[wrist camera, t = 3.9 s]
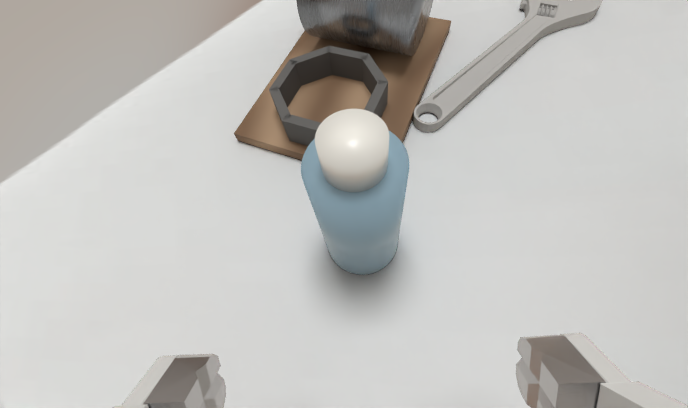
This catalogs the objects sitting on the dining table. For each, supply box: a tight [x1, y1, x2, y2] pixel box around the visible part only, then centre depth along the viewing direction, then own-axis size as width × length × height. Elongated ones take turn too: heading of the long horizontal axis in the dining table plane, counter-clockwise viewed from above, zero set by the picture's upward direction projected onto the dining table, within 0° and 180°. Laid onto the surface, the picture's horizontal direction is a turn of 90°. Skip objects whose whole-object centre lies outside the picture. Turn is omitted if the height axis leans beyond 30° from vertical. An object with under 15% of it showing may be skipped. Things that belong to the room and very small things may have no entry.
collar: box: [269, 46, 388, 146], centre depth 29 cm, size 9×9×2 cm
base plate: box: [234, 17, 451, 160], centre depth 32 cm, size 14×20×1 cm
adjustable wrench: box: [413, 0, 603, 132], centre depth 33 cm, size 25×6×2 cm, turn 128°
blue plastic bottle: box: [301, 109, 409, 275], centre depth 20 cm, size 5×5×12 cm
